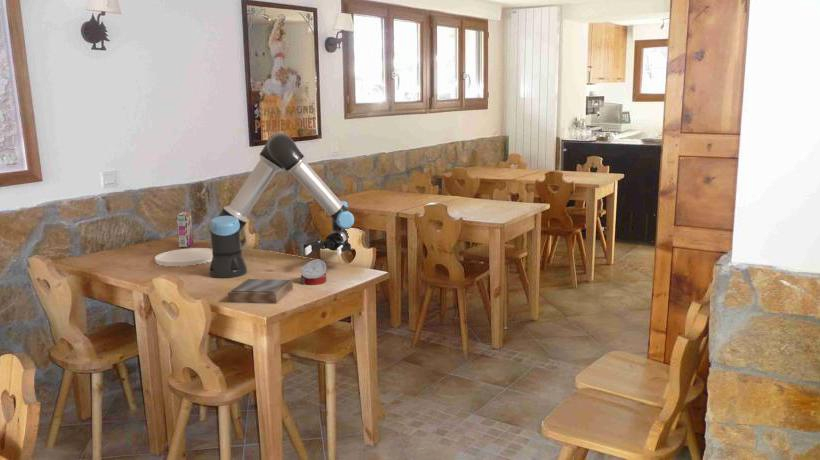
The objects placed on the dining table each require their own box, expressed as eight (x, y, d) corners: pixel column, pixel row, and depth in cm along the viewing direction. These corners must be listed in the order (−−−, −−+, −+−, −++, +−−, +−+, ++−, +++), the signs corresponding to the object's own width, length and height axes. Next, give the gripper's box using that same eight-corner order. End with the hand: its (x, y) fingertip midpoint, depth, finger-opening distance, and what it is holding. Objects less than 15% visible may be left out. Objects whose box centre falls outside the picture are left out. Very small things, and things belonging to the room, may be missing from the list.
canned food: (327, 292, 272) (335, 272, 268) (306, 295, 265) (314, 274, 261) (313, 275, 279) (321, 255, 274) (292, 277, 272) (300, 257, 268)
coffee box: (239, 251, 327) (237, 218, 324) (227, 251, 329) (224, 218, 325) (247, 247, 336) (245, 215, 333) (235, 247, 337) (233, 214, 334)
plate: (183, 270, 295) (183, 264, 295) (141, 263, 310) (141, 258, 310) (232, 256, 319) (231, 251, 318) (190, 250, 333) (190, 245, 333)
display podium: (228, 302, 246) (227, 291, 245) (247, 288, 263) (247, 278, 263) (276, 303, 243) (275, 292, 242) (292, 289, 260) (292, 279, 260)
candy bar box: (188, 247, 338) (186, 214, 335) (178, 248, 338) (175, 215, 335) (193, 243, 349) (191, 211, 346) (183, 243, 349) (181, 211, 346)
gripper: (363, 248, 298) (352, 260, 278) (308, 249, 302) (293, 260, 282) (363, 232, 297) (351, 242, 276) (307, 232, 301) (291, 242, 280)
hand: (321, 251), depth 279 cm, fingers open, 13 cm apart
